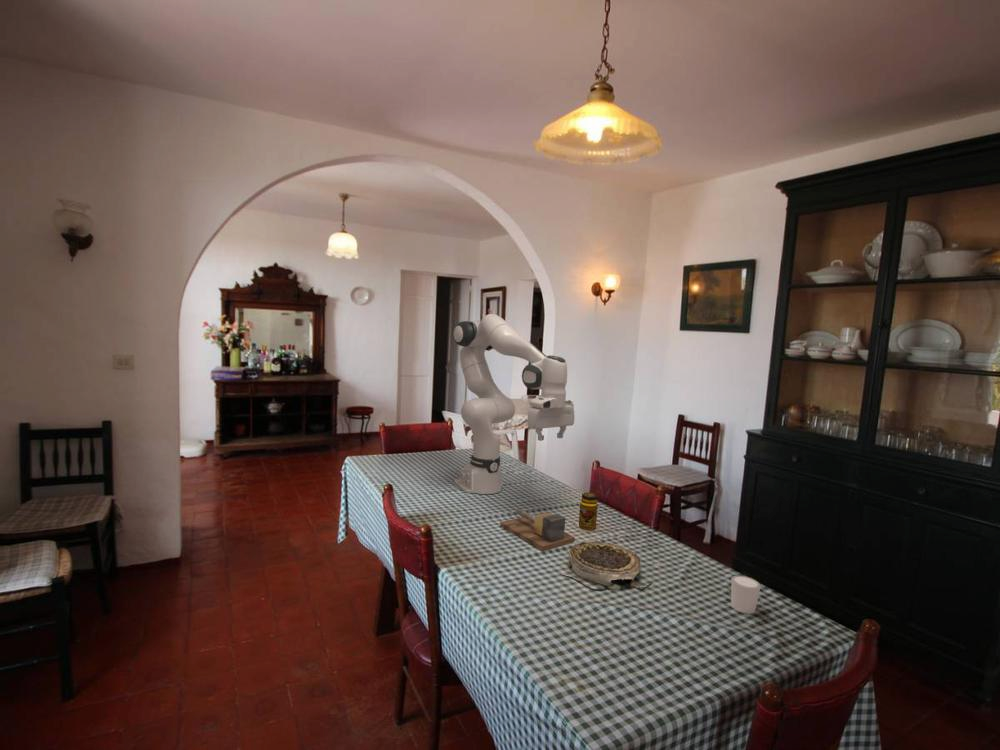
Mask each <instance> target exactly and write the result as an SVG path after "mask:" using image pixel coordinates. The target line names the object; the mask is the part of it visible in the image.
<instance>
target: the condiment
mask: <svg viewBox="0 0 1000 750" xmlns="http://www.w3.org/2000/svg"><path fill="white" fill-rule="evenodd" d="M597 514H598V496H597V494H595V493H593V492H584V493H582V494H581V500H580V503H579V514H578V522H579V528H580V529H579V528H578V529H579V530H580V531H581V532H582V533H584V532H585V533H586V532H588V533H589V532H597V531H601V528H599V527H598V528H596V526H597V518H598V517H597V516H598V515H597ZM574 522H575V524H574ZM576 522H577V521H573V523H572V524H573V525H574V526H575V527H577V526H576V525H577V524H576ZM581 529H582V530H581ZM596 529H597V530H596Z"/></svg>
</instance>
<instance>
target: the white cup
mask: <svg viewBox="0 0 1000 750" xmlns="http://www.w3.org/2000/svg"><path fill="white" fill-rule="evenodd" d="M730 579H731V582H730V583H731V586H730V587H731V591H730V592H731V593H730V596H731V597H730V599H731V600H730V602H731V603H730V605H731V607H732V608H733V609H734V610H735V611H738V612H740V613H743V614H747V615H750V614H754V613H756V610H757V609H756V608H757V605H758V600H759V597H760V596H759V595H760V591H761V585H762V584H760V582H759V581H757V580H755V579H754V578H752V577H749V576H744V575H734V576H732V577H731V578H730Z"/></svg>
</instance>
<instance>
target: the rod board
mask: <svg viewBox="0 0 1000 750" xmlns="http://www.w3.org/2000/svg"><path fill="white" fill-rule="evenodd" d="M515 512H516V515H519V516H520V517H516V518H513V519H512V518H511V519H508V520H504V521H500V524H499V526H501V527H500V528H502V527H503V528H505V529H506V530H505V529H504V530H505V531H507V530H508V531H507V532H509V533H510V532H511V533H510V534H512V533H513V535H514V534H515V535H516V537H517V536H518V537H517V538H519V539H521V540H523V541H524V542H526V543H528V544H529V545H531V546H533V547H534V548H536V549H538V550H539V551H541V552H546V551H548V550H551V549H555V548H559V547H561V546H565V545H568V544H572V543H576V542H575V538H576V537H575V536H574V535H571V534H569V533H567V532H566V531H565V529H566V526H565V525H566V517H564V516H562V515H560V514H558V513H554V514H551V515H550V516H546V517H543V527H542V536H541V535H539V534H537V533H535V532H534V519H535V515H533V514H531V513H529V512H528V511H525V510H523V509H521V508H517V509H516V511H515ZM503 528H502V529H503ZM515 535H514V536H515Z"/></svg>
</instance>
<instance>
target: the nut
mask: <svg viewBox="0 0 1000 750" xmlns="http://www.w3.org/2000/svg"><path fill="white" fill-rule="evenodd" d="M550 515H552V514H551V513H550V512H545V513H539V514H535V515H534V516H535V519H534V532H535V533H537V534H539V535H541V536H542V527H543V517H546V516H550Z"/></svg>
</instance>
